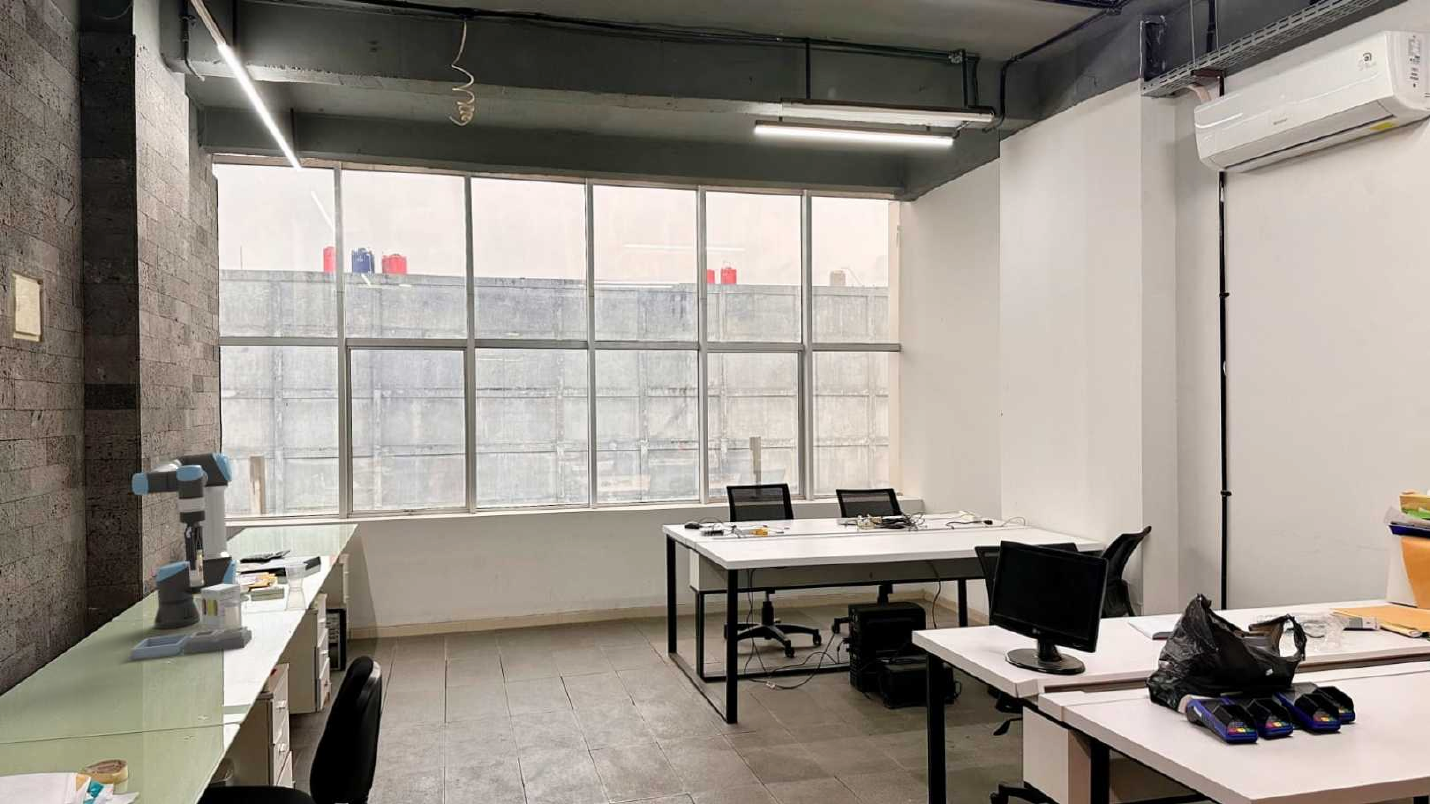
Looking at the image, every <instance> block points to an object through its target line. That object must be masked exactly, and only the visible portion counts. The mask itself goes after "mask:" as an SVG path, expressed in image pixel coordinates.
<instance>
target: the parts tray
mask: <svg viewBox="0 0 1430 804" xmlns="http://www.w3.org/2000/svg"><path fill="white" fill-rule="evenodd" d="M191 635H192V633H181V634H174V635H165V636H157V637H156V636H154V637H148V638H144V639H143V640H142V641H141V642H139V643H137V644H136V645H135V646H134V647H132V648H131V650H130V657H131V659H130V660H131V661H134V660H135V661H136V660H143V659H153V658H161V657H163V658H164V657H168V656H178V655H180V654H181V653H182V652H184V651H185V645H186V644H187V643H188V642H189V637H190V636H191Z"/></svg>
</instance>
